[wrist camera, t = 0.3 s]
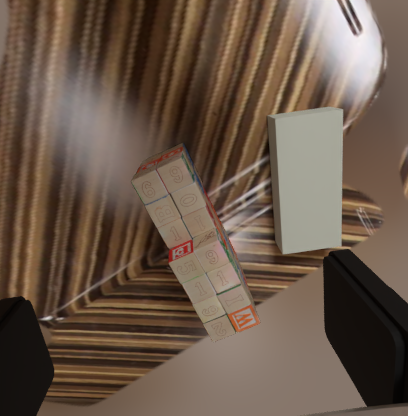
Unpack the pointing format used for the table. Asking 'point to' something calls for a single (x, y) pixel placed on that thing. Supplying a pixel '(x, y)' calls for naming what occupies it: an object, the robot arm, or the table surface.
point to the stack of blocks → (196, 242)
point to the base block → (306, 178)
